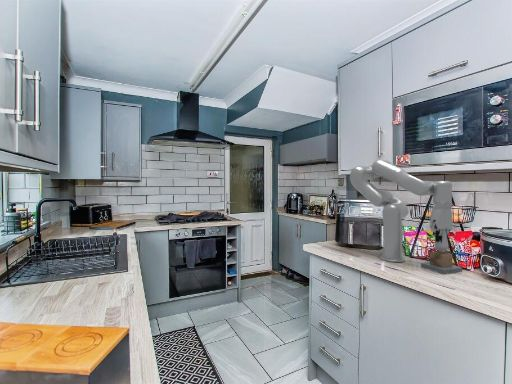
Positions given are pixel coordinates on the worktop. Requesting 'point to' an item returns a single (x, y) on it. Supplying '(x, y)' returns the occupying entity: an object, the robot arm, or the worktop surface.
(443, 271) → the slab
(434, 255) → the walnut block
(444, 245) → the salt shaker
